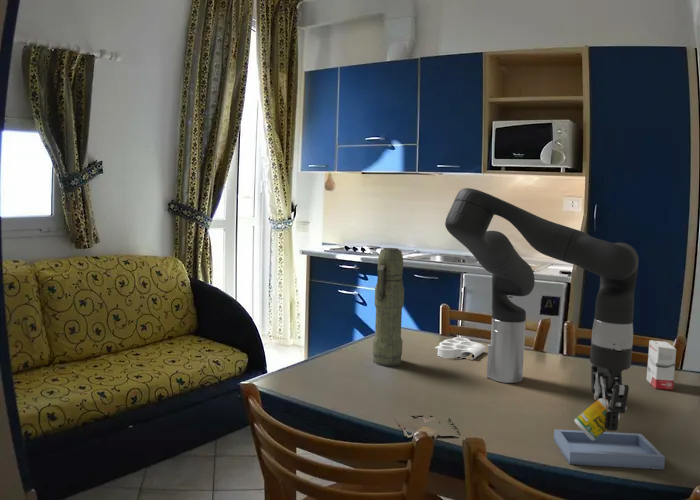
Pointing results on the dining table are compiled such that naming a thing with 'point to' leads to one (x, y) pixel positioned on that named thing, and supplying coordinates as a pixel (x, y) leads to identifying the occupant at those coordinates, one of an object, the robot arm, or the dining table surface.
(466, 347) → the white holder with holes
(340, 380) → the dining table surface
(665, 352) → the ink box
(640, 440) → the tray
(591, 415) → the supplement bottle
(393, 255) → the thermos
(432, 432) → the parchment
